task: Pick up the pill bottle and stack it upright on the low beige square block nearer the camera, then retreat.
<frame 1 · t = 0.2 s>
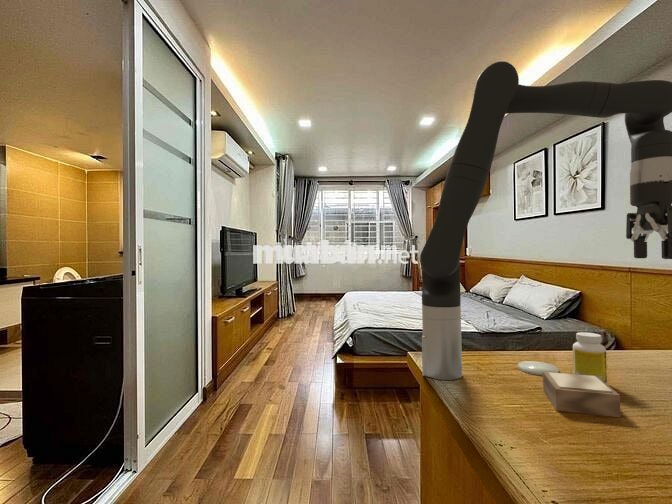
hand: (654, 258, 74), 28 cm above the table, fingers open, 8 cm apart
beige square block: (578, 402, 69), on the table
pill bottle: (589, 383, 79), on the table
pale white disc: (538, 369, 89), on the table
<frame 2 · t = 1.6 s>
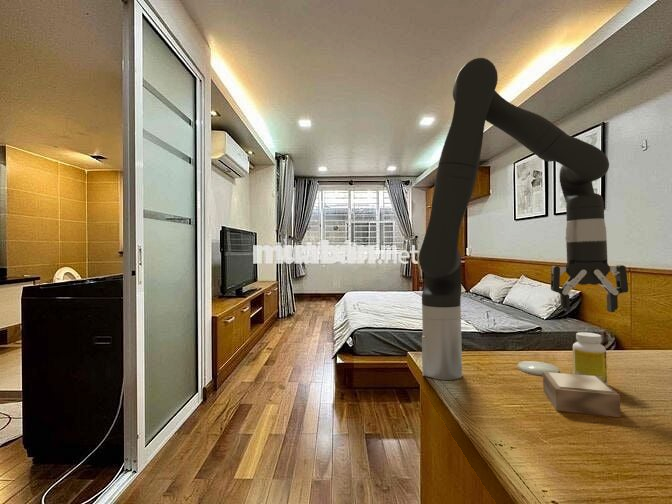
hand: (588, 311, 79), 16 cm above the table, fingers open, 8 cm apart
nothing on the table moved.
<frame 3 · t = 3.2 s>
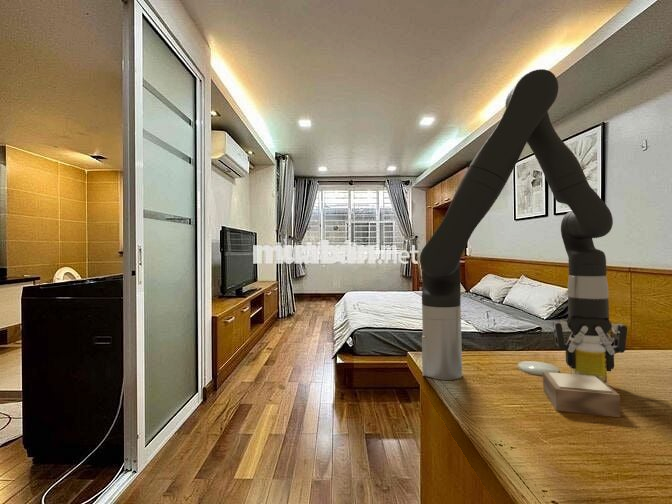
hand: (589, 368, 79), 3 cm above the table, fingers closed on pill bottle, 6 cm apart
pill bottle: (589, 383, 79), on the table, touching gripper
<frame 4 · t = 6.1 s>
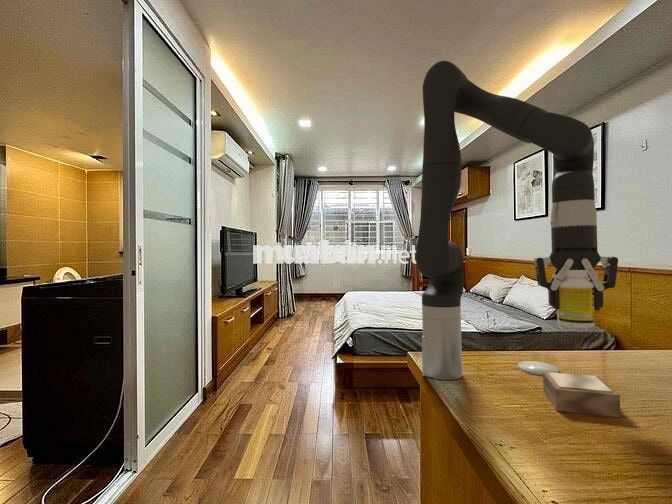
hand: (575, 309, 69), 18 cm above the table, fingers closed on pill bottle, 6 cm apart
pill bottle: (575, 326, 69), point 15 cm above the table, touching gripper
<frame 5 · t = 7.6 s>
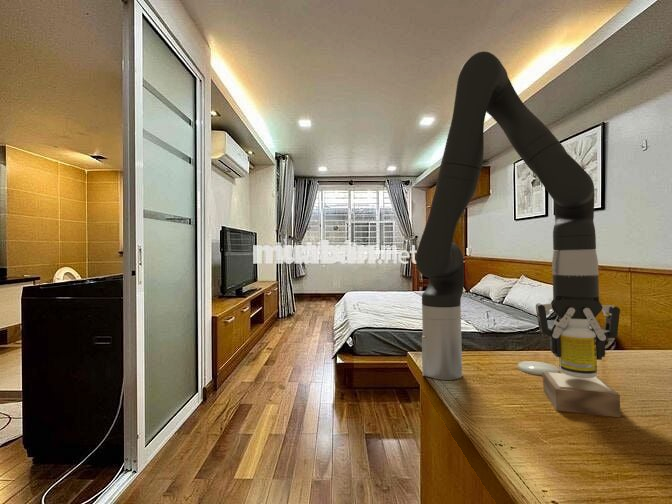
hand: (577, 357, 69), 9 cm above the table, fingers closed on pill bottle, 6 cm apart
pill bottle: (577, 374, 69), point 6 cm above the table, touching gripper
when the fingers open (8 cm above the table, at t = 8.8 s): pill bottle stays where it is, resting on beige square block.
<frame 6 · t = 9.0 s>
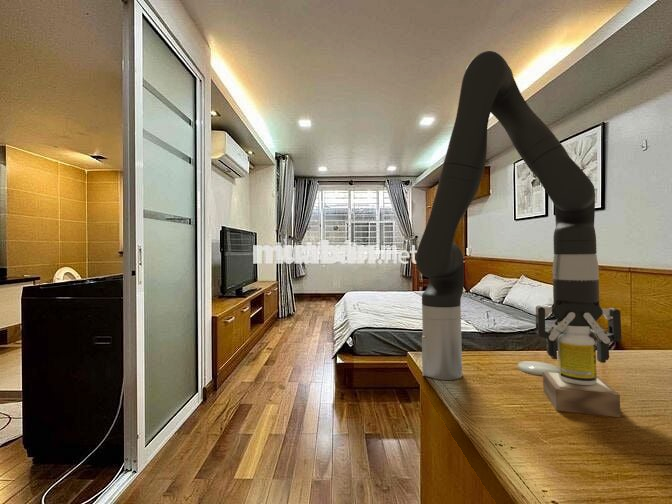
hand: (577, 359, 69), 8 cm above the table, fingers open, 7 cm apart
pill bottle: (577, 381, 69), point 4 cm above the table, touching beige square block
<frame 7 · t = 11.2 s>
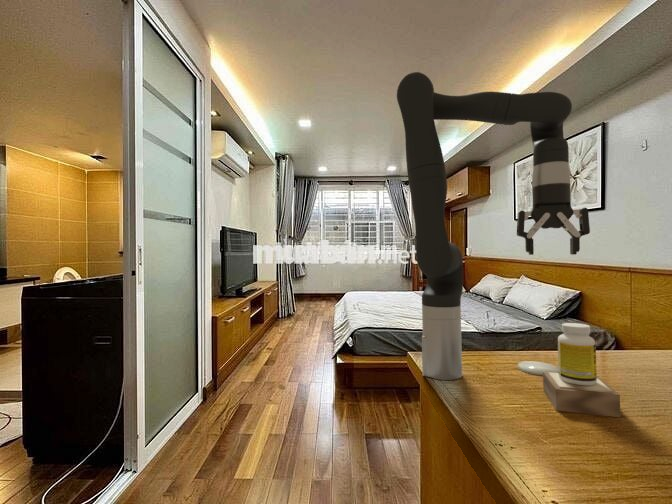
hand: (552, 254, 81), 29 cm above the table, fingers open, 8 cm apart
nothing on the table moved.
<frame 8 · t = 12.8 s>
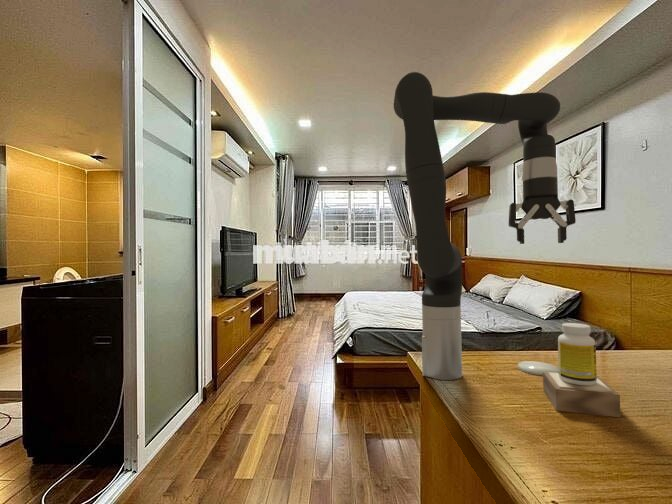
hand: (541, 243, 87), 32 cm above the table, fingers open, 8 cm apart
nothing on the table moved.
at the end: pill bottle inside the target area on the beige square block (0.1 cm from its centre), point 4.1 cm above the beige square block's base; pill bottle tilted 0°; the gripper is holding nothing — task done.
